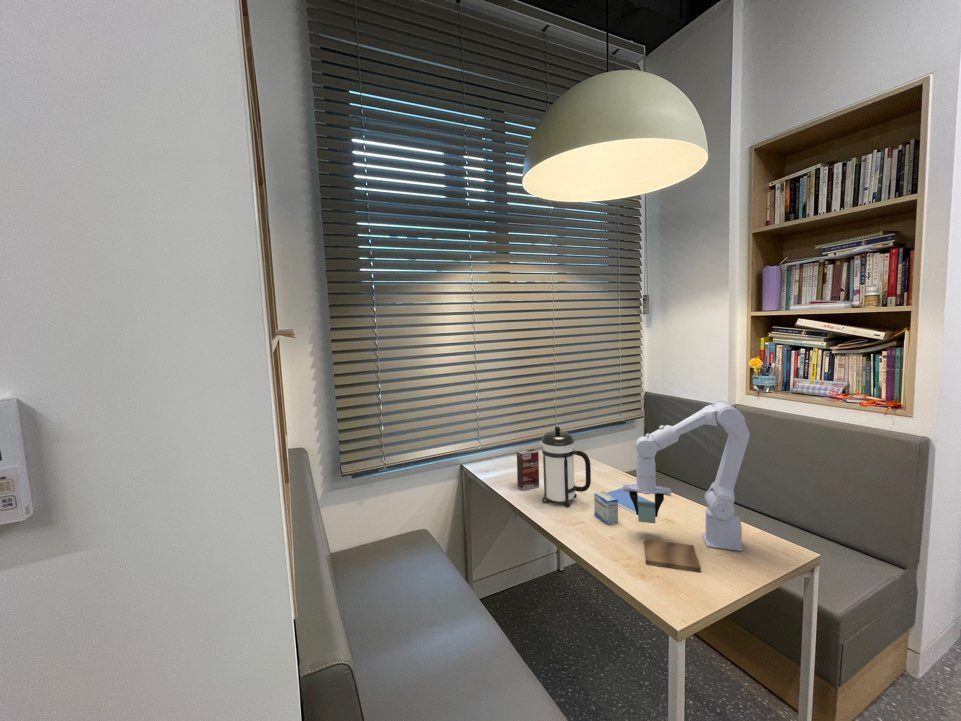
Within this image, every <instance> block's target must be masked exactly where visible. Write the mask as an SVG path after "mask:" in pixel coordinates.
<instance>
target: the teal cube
mask: <svg viewBox="0 0 961 721" xmlns="http://www.w3.org/2000/svg"><path fill="white" fill-rule="evenodd" d="M654 503H655V501H652V502H651V500H650V501H641V500H638V515H637V516H638V518H637V519H638V522H639V523H648V524H649V523H650V524H656V517H655V504H654Z"/></svg>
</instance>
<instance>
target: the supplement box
mask: <svg viewBox="0 0 961 721" xmlns="http://www.w3.org/2000/svg"><path fill="white" fill-rule="evenodd" d="M539 458H540V457H539V451H538V450H535V449H527V450H523V451H517V452H516V469H517V470H516V474H517V475H516V476H517V478H516V479H517V488H518V489H520V490H521V491H522V492H523V491H527V490H532V489H536V488H540V468H539V466H540V461H539Z"/></svg>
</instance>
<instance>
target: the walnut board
mask: <svg viewBox="0 0 961 721" xmlns="http://www.w3.org/2000/svg"><path fill="white" fill-rule="evenodd" d="M643 544H644V545H643V546H644V557H645V564H646V565H648V566H649V565H650V566H656V565H657V566H656V567H663V568H671V569H677V570H685V571H691V572H692V571H693V572H696V573H701V566H700V562H699V559H698V556H697V553H696V550H695V546H694V544H688V543H680V542H672V541H665V540H664V541H663V540H657V539H647V538H644V539H643Z"/></svg>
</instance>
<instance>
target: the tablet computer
mask: <svg viewBox="0 0 961 721" xmlns="http://www.w3.org/2000/svg"><path fill="white" fill-rule="evenodd" d="M606 493H608V494H609V495H611V496H613V497H614V498H616V499H618V507H622V508H623V509H624V510H627V511H629V510H630V511H631V513H632V512H633V513H632V514H634V513H636V510H635V507H634V504H633V502H632V500H631V498H630V494H629V492H623V488H622V487H621V488H618V489H614V490H611V491H608V492H606ZM638 500H641V501H651V500H650V499H647V498H645V497H642V496H640V495H638ZM651 502H653V501H651ZM654 504H655V502H654ZM630 511H629V512H630Z"/></svg>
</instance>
